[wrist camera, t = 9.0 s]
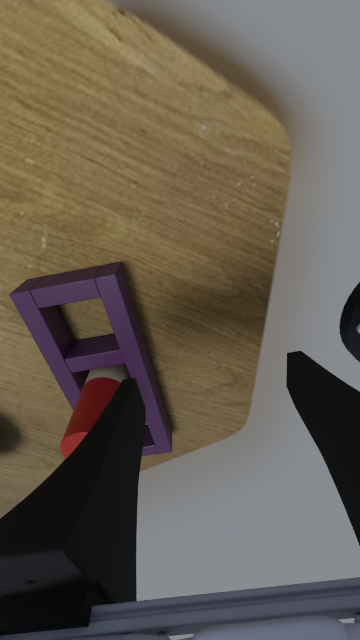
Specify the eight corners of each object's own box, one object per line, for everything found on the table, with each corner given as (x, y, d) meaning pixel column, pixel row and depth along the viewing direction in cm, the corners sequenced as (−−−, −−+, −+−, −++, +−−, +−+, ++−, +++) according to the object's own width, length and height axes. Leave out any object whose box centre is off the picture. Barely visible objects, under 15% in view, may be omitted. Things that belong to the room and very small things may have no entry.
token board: (121, 261, 19) (115, 274, 17) (172, 430, 29) (172, 452, 27) (26, 279, 20) (8, 294, 18) (106, 440, 29) (101, 462, 27)
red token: (135, 388, 22) (127, 445, 17) (114, 414, 23) (101, 473, 19) (94, 369, 20) (74, 425, 16) (74, 398, 22) (51, 456, 18)
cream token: (140, 364, 24) (136, 388, 22) (120, 389, 26) (115, 414, 23) (103, 346, 23) (95, 369, 20) (85, 373, 24) (75, 398, 22)
